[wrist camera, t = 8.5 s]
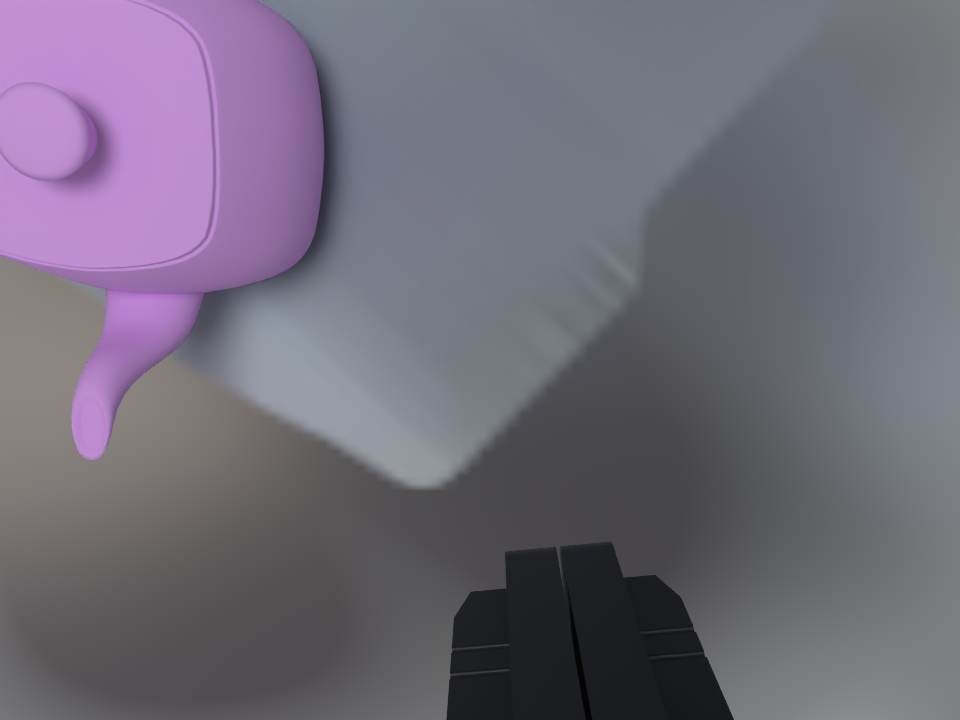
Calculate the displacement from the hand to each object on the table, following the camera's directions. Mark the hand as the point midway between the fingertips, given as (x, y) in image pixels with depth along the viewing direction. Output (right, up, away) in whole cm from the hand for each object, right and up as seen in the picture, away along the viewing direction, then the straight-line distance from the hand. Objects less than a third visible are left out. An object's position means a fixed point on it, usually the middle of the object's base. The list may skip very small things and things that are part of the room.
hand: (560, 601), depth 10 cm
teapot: (-18, +16, +32) cm, 40 cm away
